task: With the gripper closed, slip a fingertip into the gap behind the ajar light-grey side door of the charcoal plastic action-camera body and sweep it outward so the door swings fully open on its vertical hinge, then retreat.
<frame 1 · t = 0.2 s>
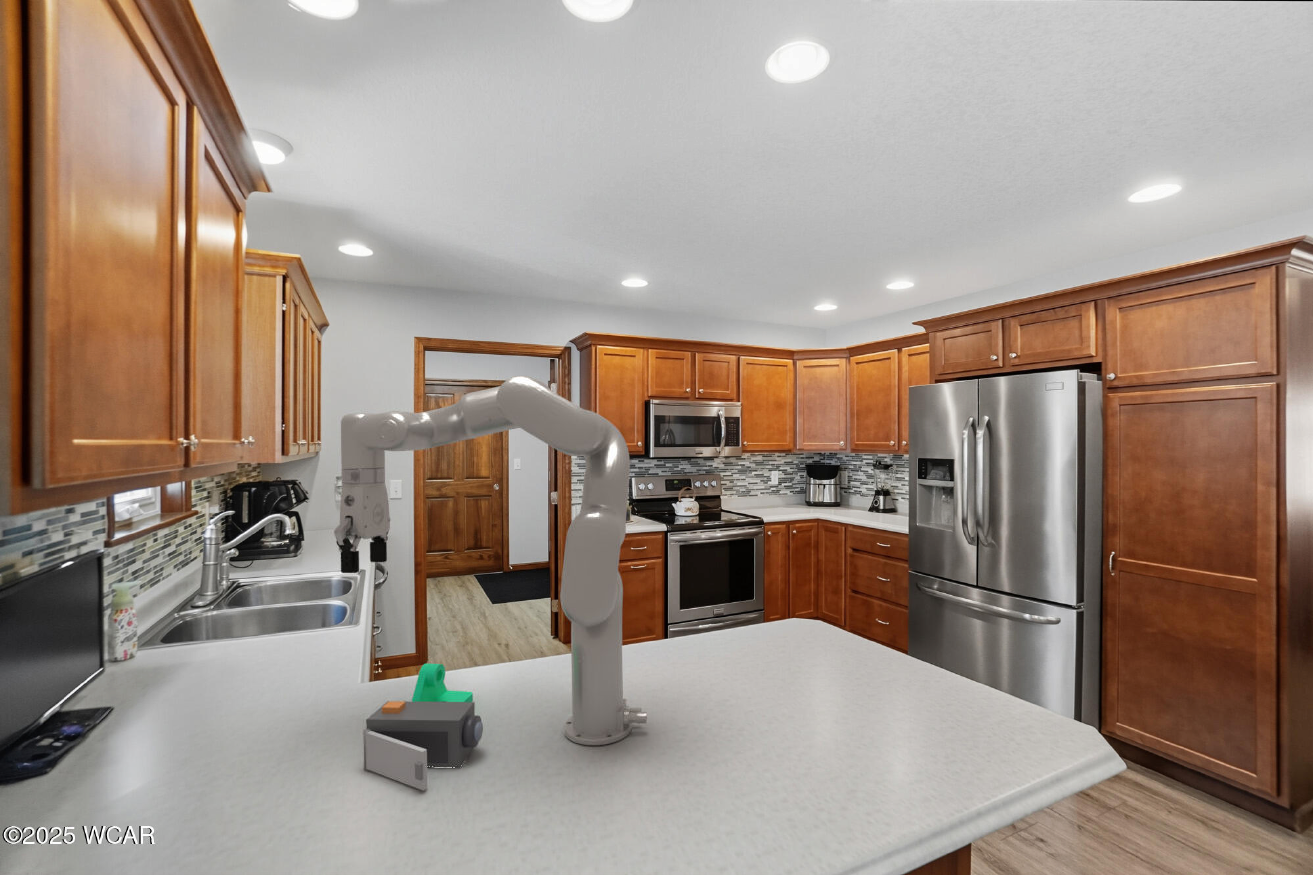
hand: (364, 567, 115), 31 cm above the counter, fingers open, 9 cm apart
camera mount: (442, 717, 120), on the counter
camera body: (422, 756, 104), on the counter
door: (392, 759, 97), point 3 cm above the counter, hinge at 25.0°
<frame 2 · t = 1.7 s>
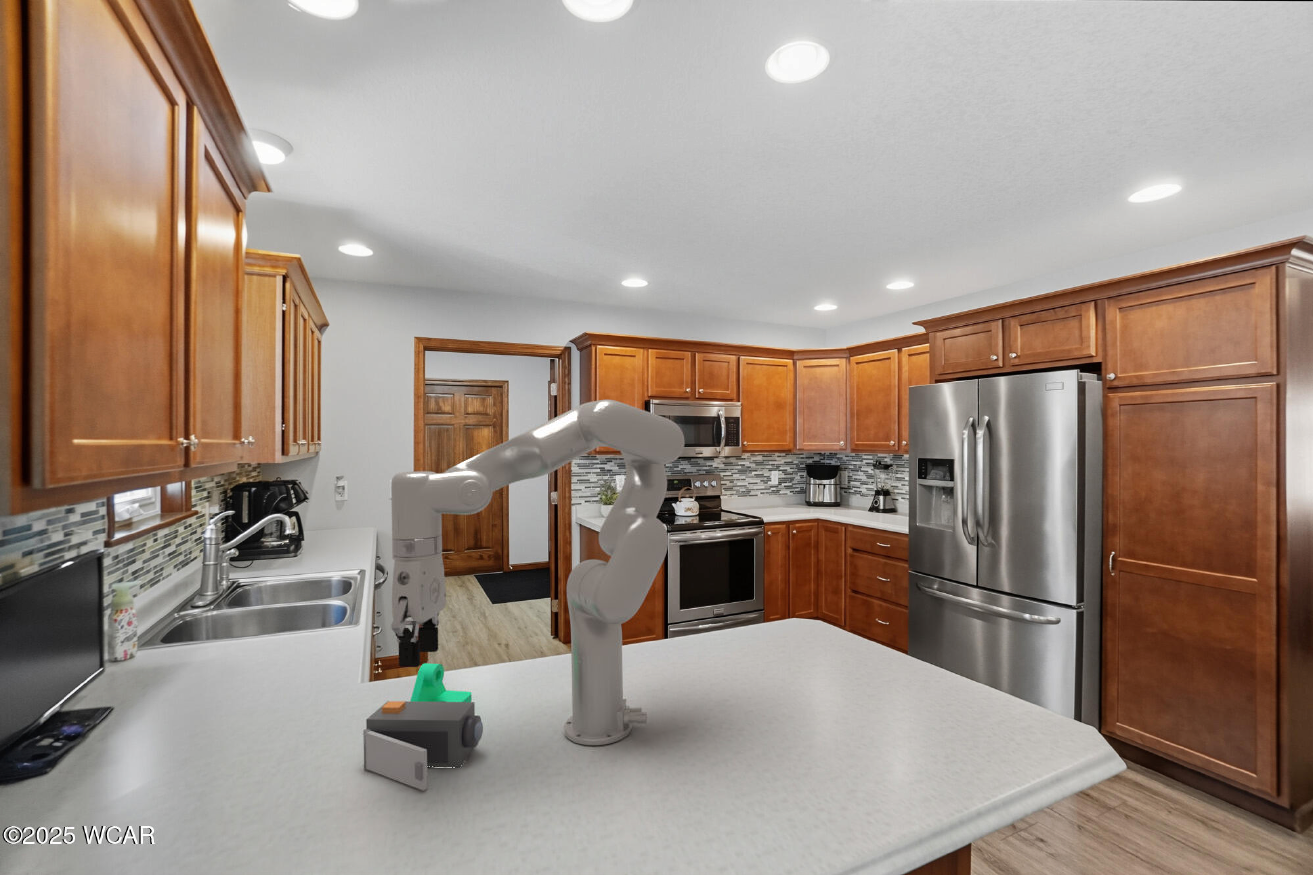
hand: (419, 657, 97), 20 cm above the counter, fingers open, 5 cm apart
nothing on the counter moved.
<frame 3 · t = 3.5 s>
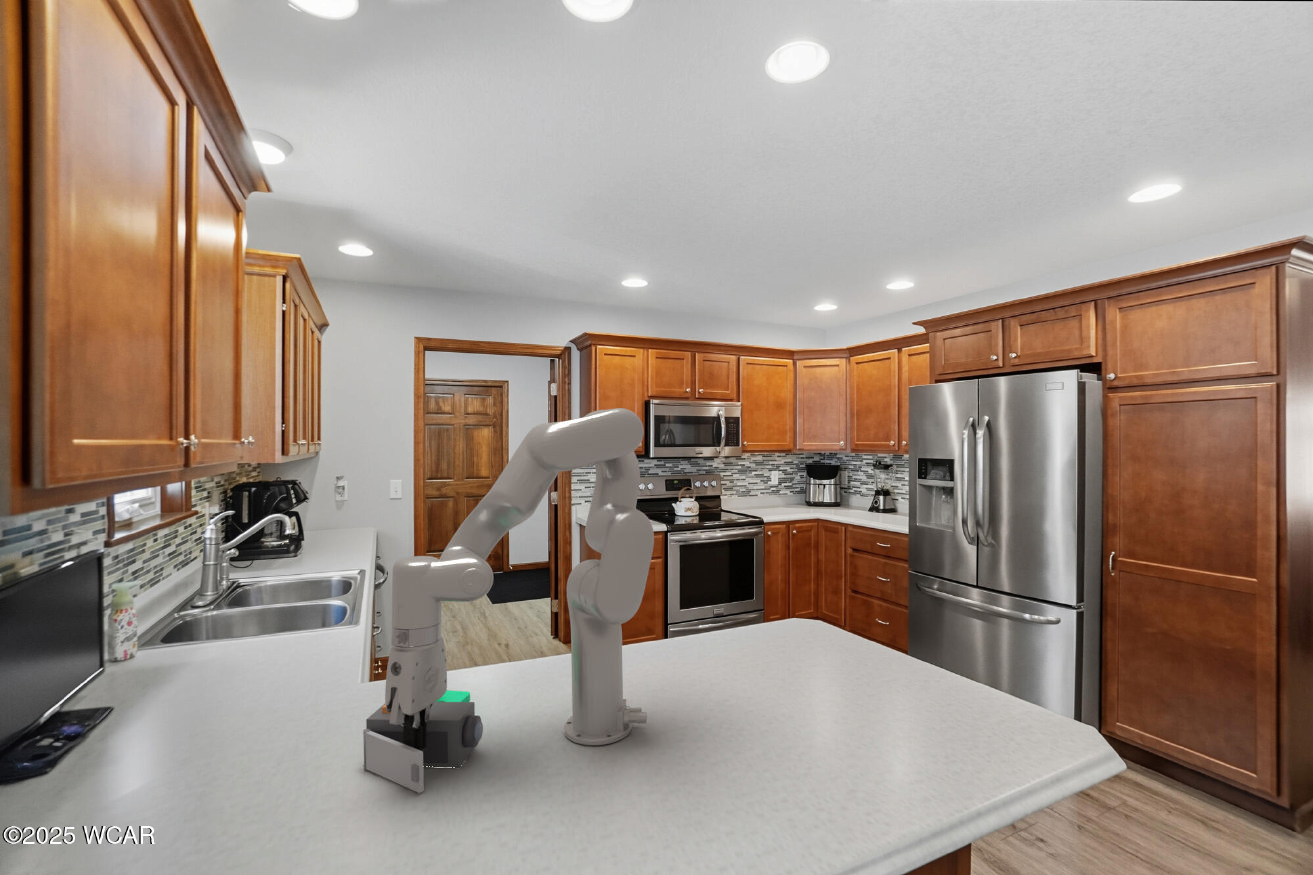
hand: (414, 748, 97), 5 cm above the counter, fingers closed
door: (390, 760, 97), point 3 cm above the counter, hinge at 28.0°
everything else where it was.
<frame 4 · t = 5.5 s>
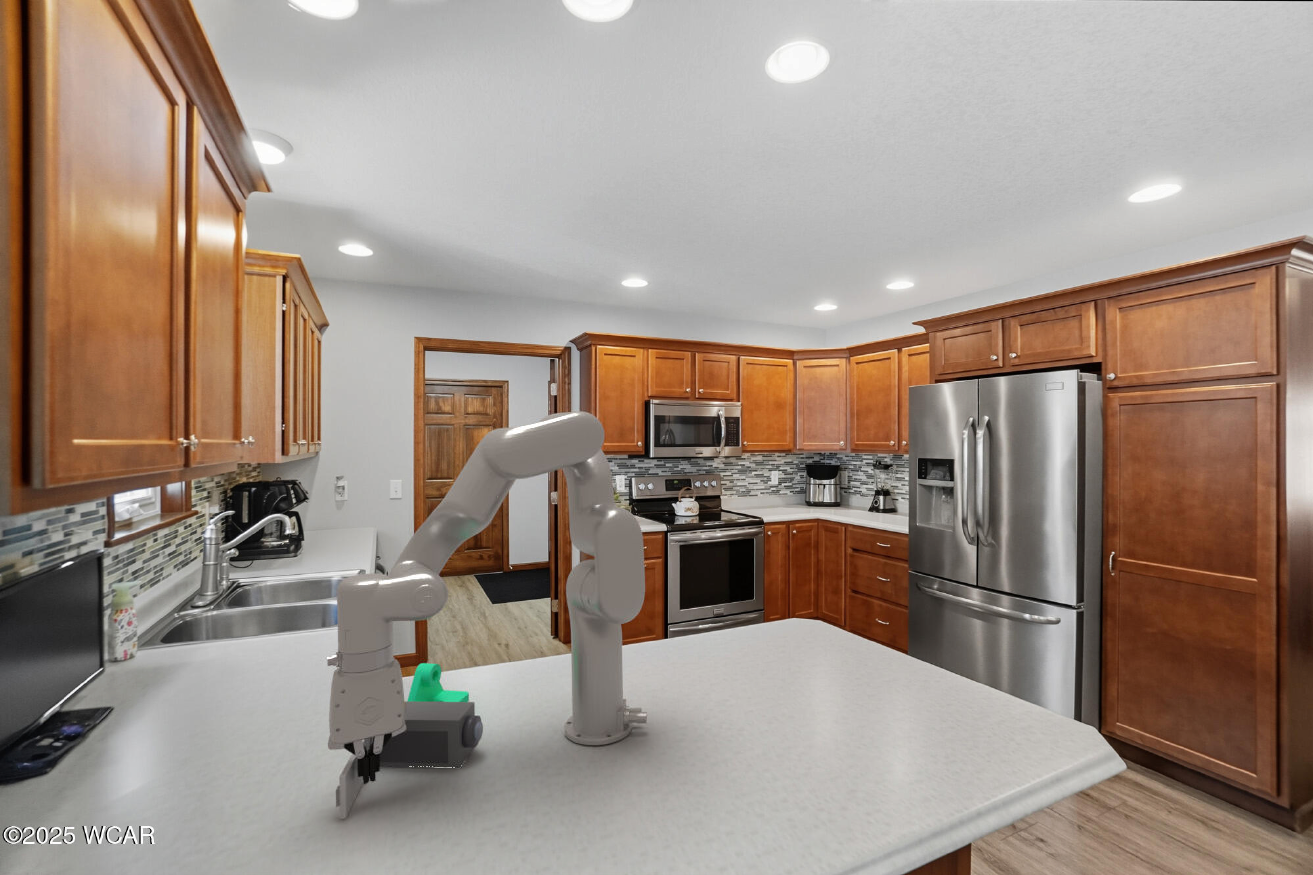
hand: (368, 778, 91), 4 cm above the counter, fingers closed
door: (354, 770, 94), point 3 cm above the counter, hinge at 73.7°, touching gripper
everything else where it was.
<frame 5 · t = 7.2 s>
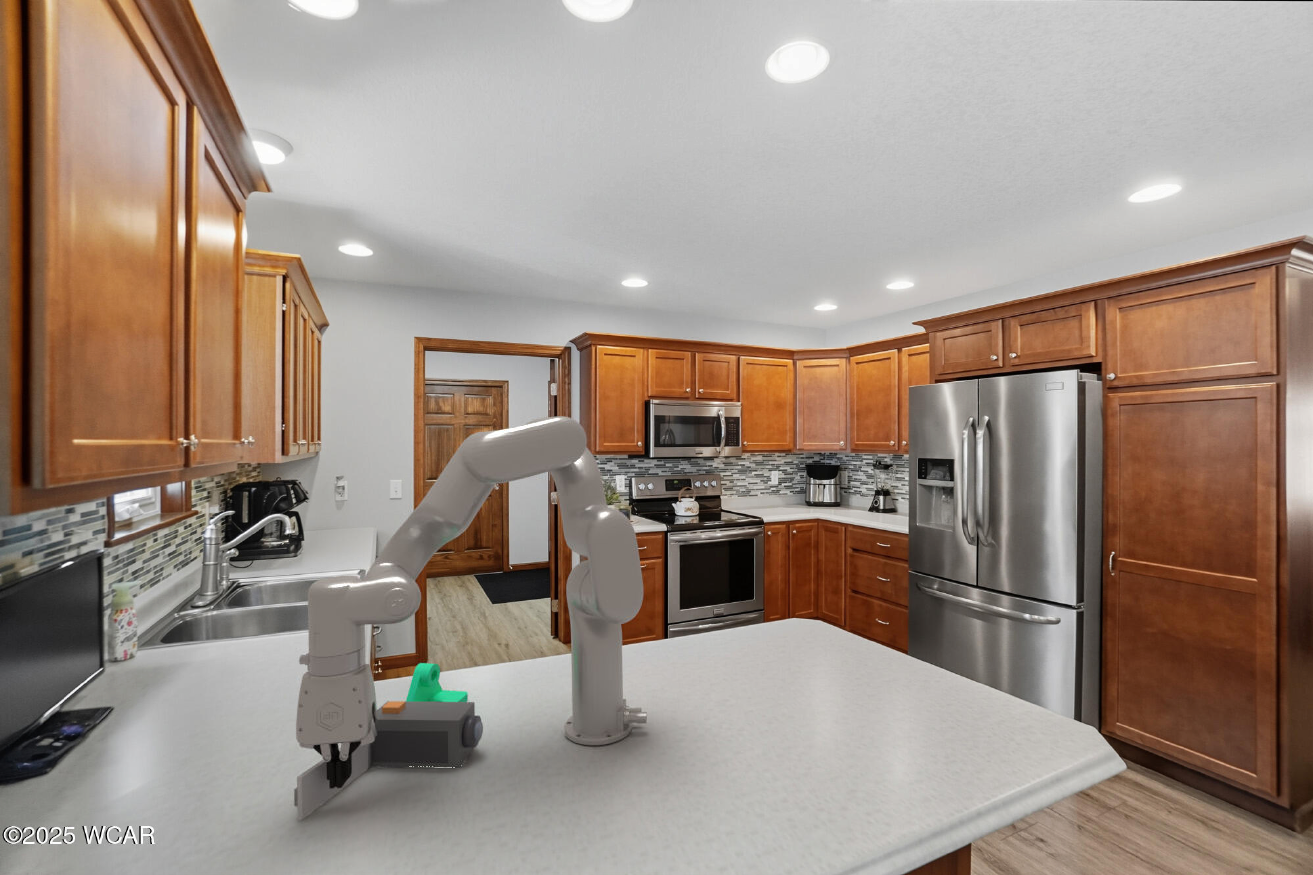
hand: (339, 782, 90), 4 cm above the counter, fingers closed
door: (335, 770, 94), point 3 cm above the counter, hinge at 99.4°
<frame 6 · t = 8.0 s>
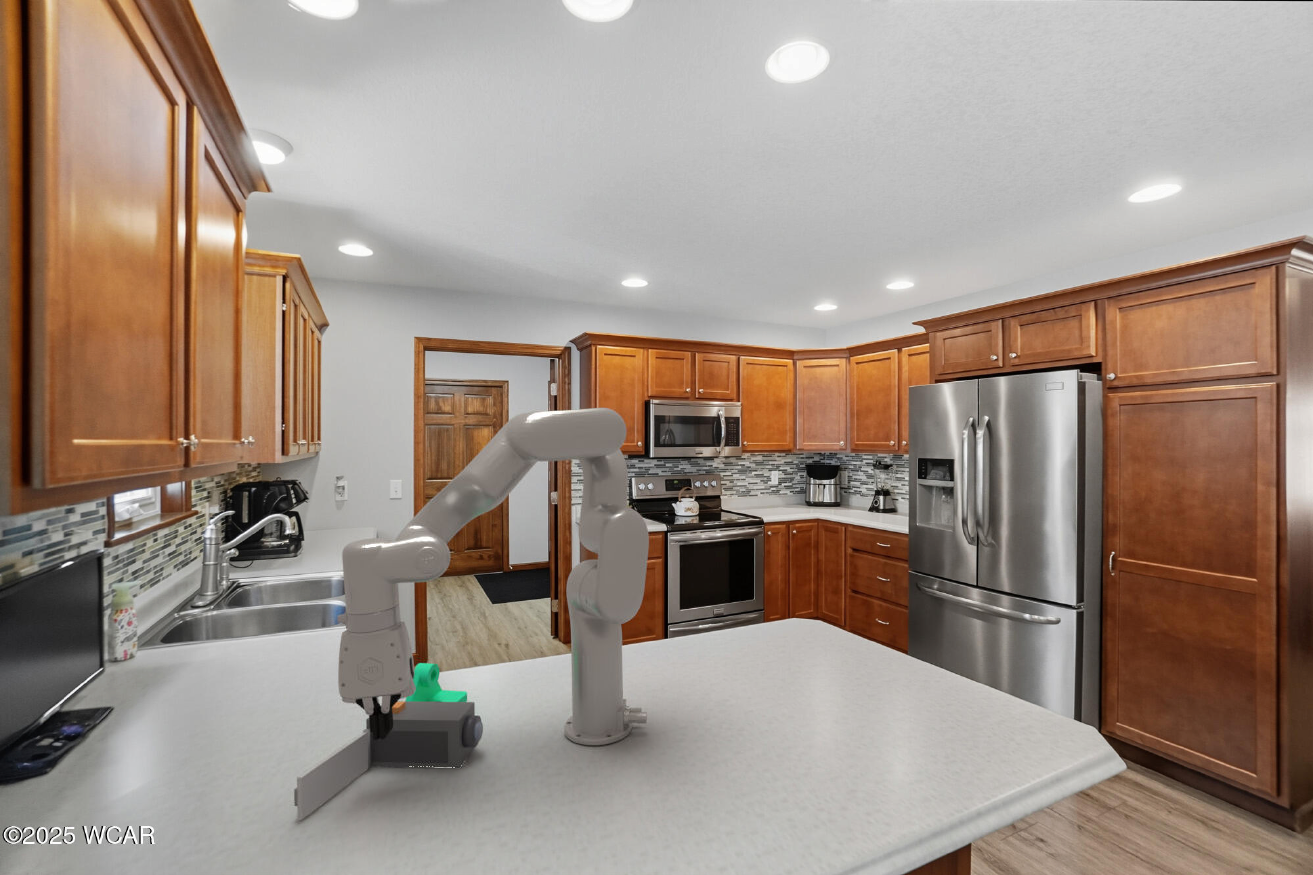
hand: (382, 735, 94), 9 cm above the counter, fingers closed
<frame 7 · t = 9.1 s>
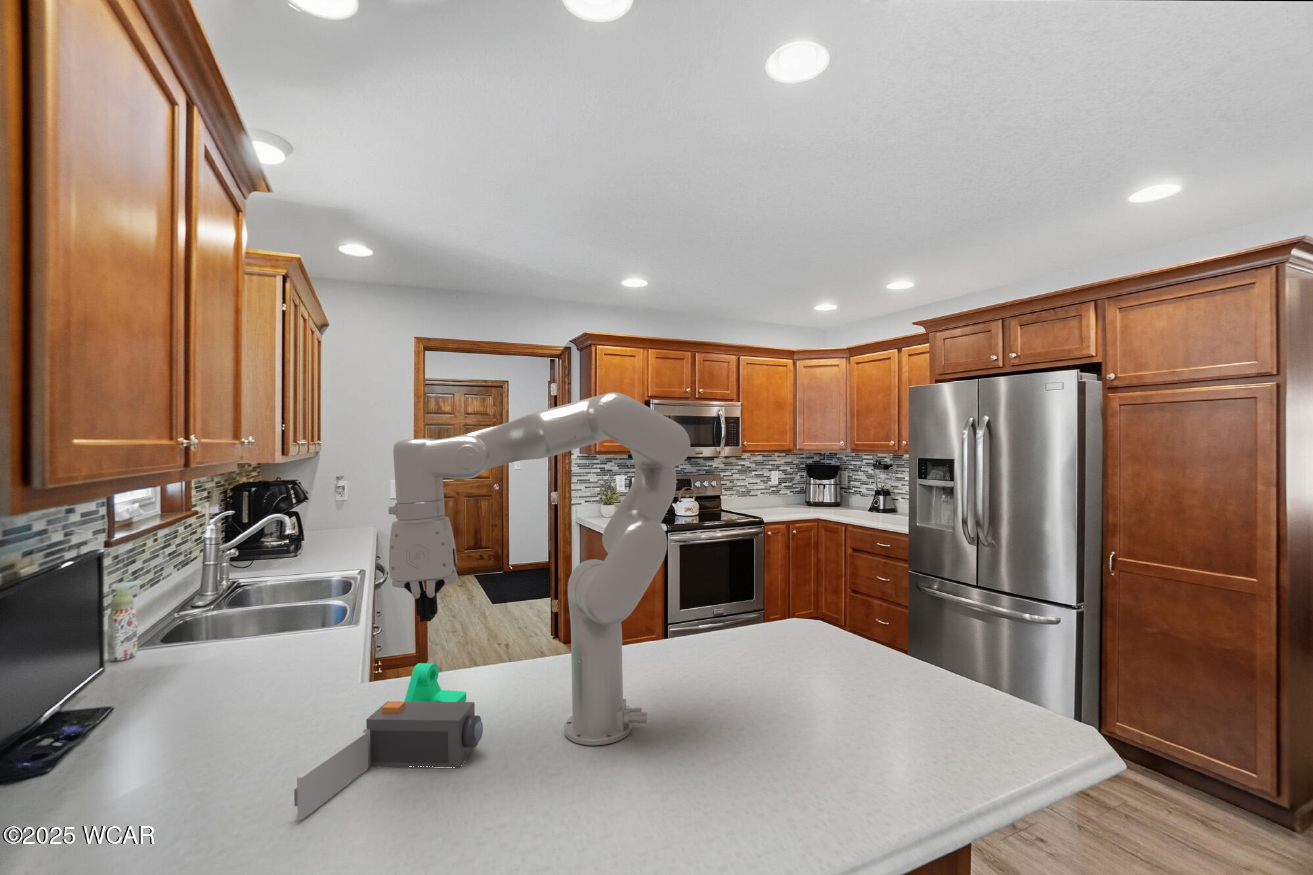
hand: (427, 619, 102), 24 cm above the counter, fingers closed
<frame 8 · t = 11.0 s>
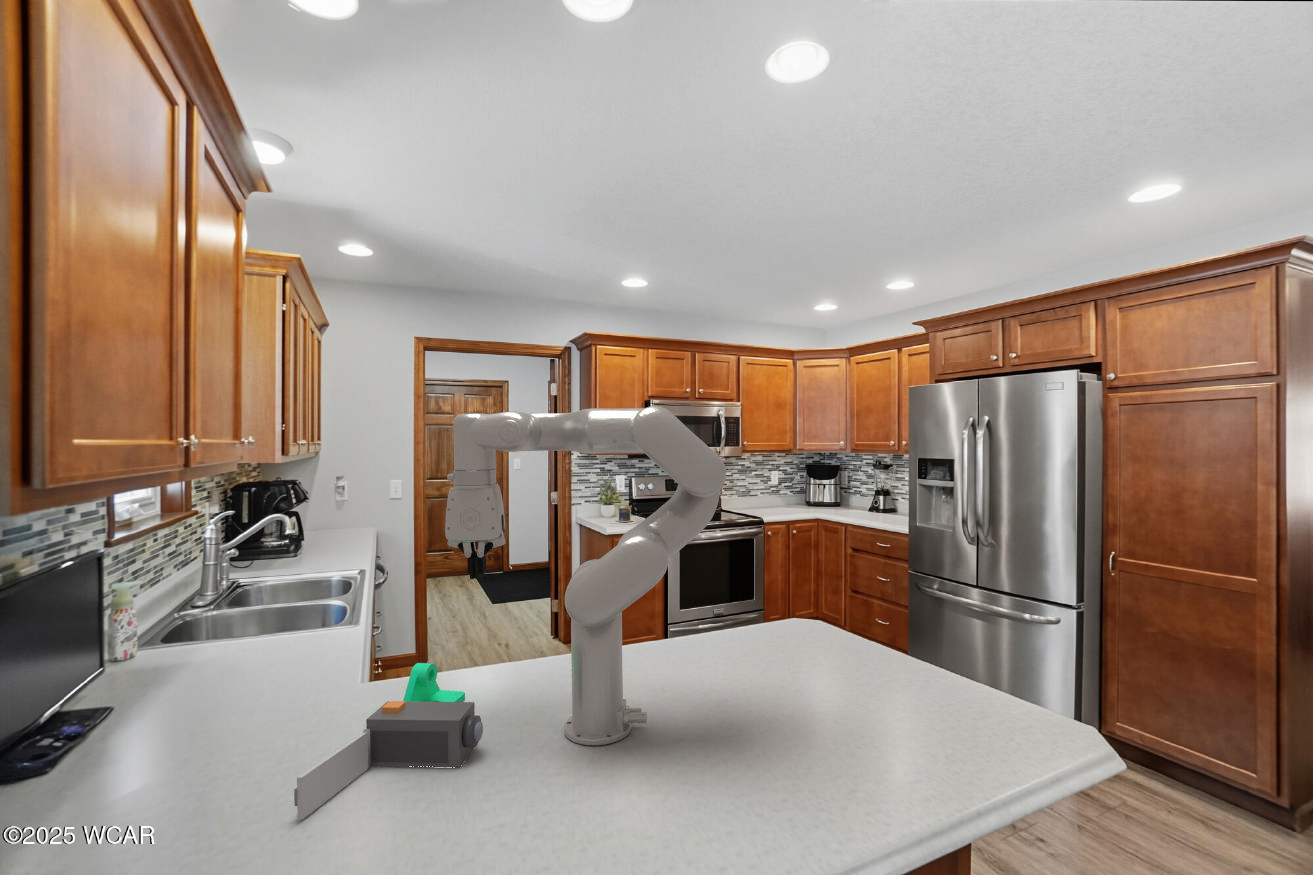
hand: (477, 577, 112), 29 cm above the counter, fingers closed
at the end: door at +99° (first picture: +25°) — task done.
